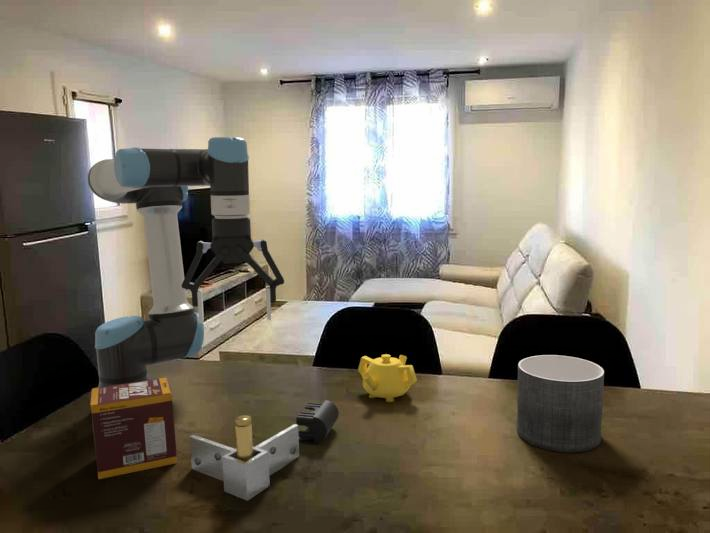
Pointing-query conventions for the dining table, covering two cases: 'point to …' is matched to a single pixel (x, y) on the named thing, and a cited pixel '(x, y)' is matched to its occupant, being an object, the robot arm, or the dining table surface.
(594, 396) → the planter
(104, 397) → the supplement box
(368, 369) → the teapot
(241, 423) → the hinge pin
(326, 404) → the end cap
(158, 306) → the robot arm
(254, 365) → the dining table surface
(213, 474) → the hinge leaves
